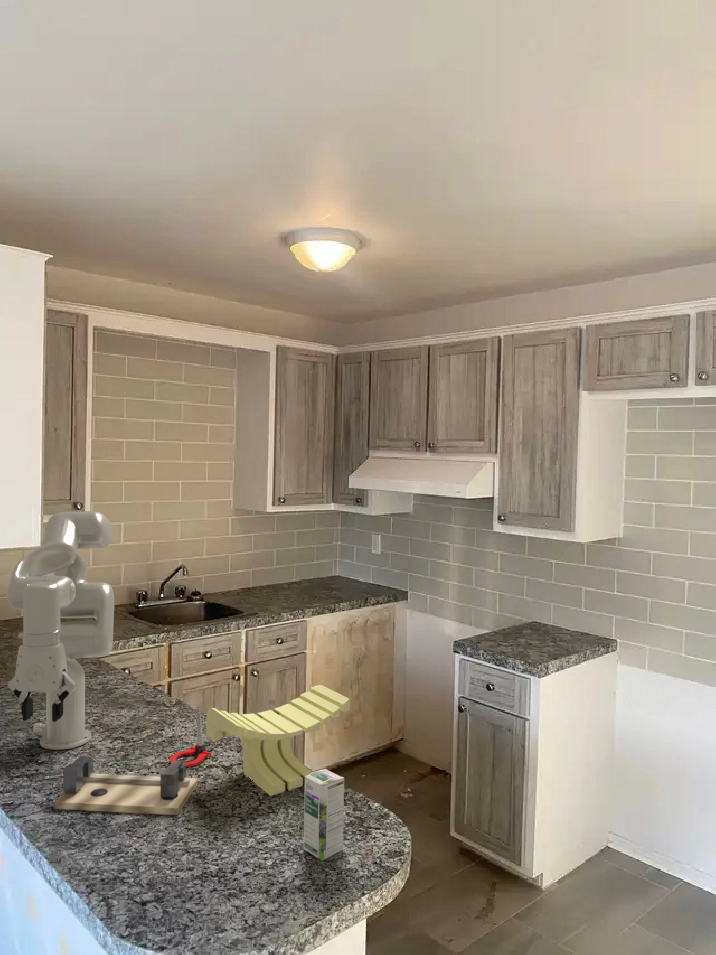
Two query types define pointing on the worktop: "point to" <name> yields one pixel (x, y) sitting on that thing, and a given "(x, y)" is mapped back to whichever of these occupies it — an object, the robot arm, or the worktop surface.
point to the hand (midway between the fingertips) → (42, 718)
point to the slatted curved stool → (277, 736)
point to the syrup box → (323, 813)
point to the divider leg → (76, 774)
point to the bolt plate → (133, 792)
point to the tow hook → (198, 748)
